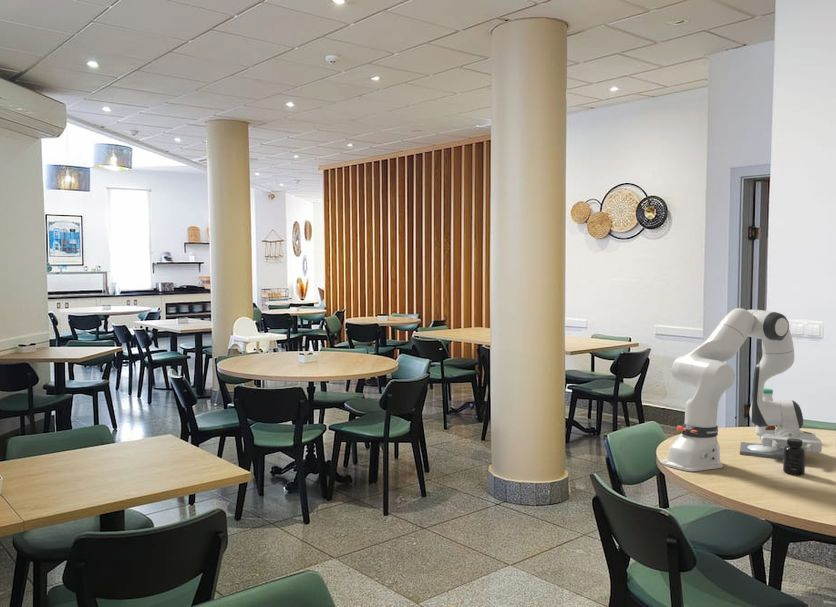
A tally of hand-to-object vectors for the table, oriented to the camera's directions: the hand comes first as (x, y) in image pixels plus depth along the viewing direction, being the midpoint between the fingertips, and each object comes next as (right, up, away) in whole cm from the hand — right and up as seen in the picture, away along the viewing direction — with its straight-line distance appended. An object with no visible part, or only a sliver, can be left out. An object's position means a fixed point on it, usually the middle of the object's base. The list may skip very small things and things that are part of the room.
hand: (792, 447), depth 255 cm
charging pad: (-2, -6, +18) cm, 19 cm away
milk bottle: (+14, -4, +47) cm, 49 cm away
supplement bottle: (-5, -7, -9) cm, 13 cm away
